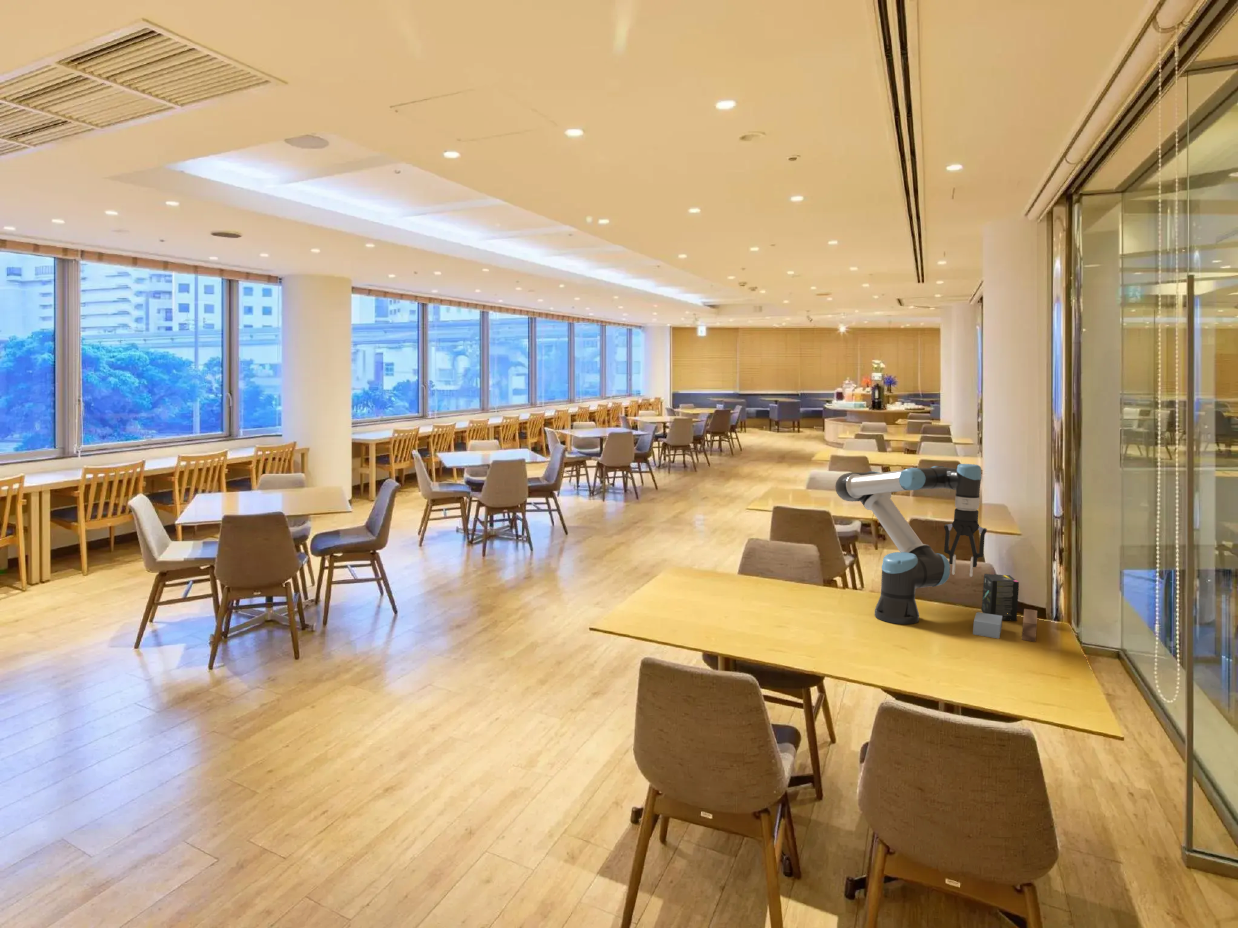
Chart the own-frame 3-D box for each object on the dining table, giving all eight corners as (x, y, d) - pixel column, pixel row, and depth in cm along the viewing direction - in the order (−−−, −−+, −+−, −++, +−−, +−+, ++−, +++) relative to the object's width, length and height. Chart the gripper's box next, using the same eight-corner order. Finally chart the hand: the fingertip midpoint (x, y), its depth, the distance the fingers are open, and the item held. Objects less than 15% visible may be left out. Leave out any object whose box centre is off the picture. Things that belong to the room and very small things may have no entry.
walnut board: (1021, 639, 244) (1023, 622, 244) (1022, 625, 260) (1024, 608, 259) (1035, 641, 242) (1036, 624, 242) (1035, 627, 258) (1037, 610, 257)
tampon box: (1017, 621, 264) (1020, 581, 262) (989, 619, 266) (992, 580, 264) (1007, 612, 275) (1010, 574, 273) (981, 610, 276) (983, 572, 275)
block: (972, 635, 249) (973, 620, 248) (975, 625, 259) (976, 611, 259) (999, 639, 245) (1000, 624, 244) (1001, 629, 255) (1002, 615, 255)
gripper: (937, 507, 253) (933, 573, 256) (995, 512, 245) (990, 580, 247) (939, 504, 260) (935, 569, 262) (996, 509, 251) (991, 576, 253)
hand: (962, 574), depth 255 cm, fingers open, 5 cm apart
